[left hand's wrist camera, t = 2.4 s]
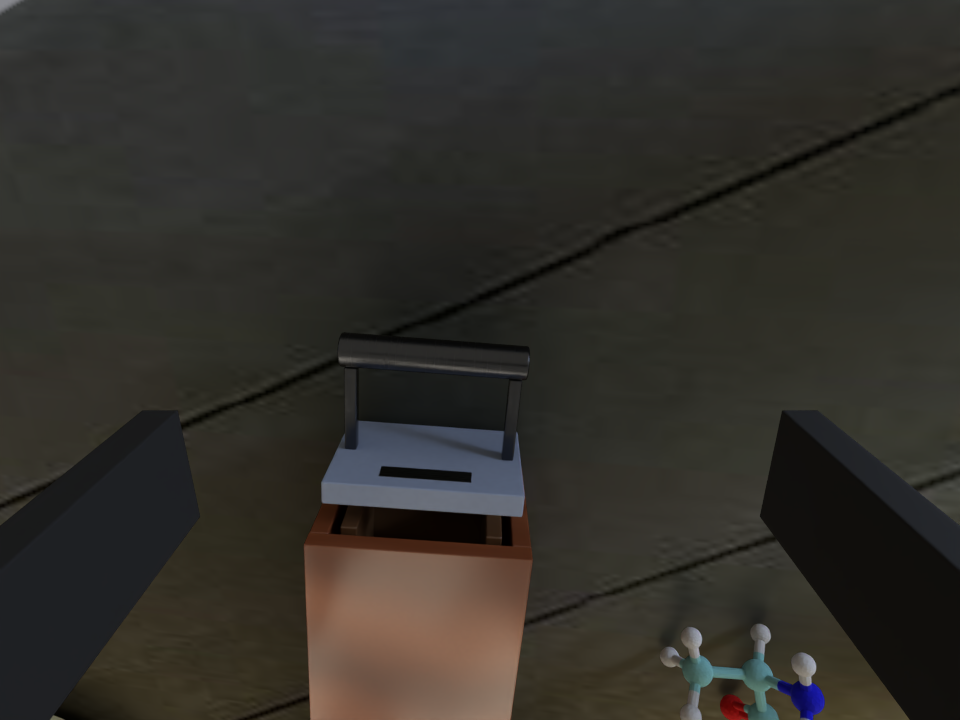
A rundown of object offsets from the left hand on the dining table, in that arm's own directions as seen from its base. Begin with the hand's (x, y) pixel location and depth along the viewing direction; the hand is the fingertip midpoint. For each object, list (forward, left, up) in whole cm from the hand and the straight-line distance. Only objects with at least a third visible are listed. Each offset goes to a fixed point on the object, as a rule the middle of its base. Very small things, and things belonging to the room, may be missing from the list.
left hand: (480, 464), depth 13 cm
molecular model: (-31, 0, -19) cm, 36 cm away
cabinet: (-14, +14, -19) cm, 27 cm away
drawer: (-9, +10, -18) cm, 22 cm away
